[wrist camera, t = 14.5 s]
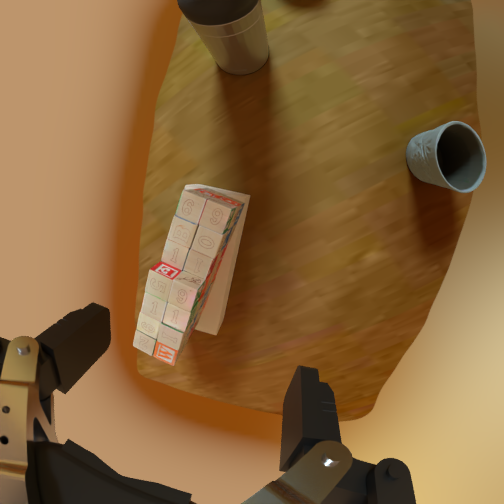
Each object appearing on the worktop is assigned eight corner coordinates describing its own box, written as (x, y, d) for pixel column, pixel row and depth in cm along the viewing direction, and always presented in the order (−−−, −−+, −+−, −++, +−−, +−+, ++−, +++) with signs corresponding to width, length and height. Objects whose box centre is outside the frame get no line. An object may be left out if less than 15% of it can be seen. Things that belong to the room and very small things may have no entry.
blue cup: (445, 134, 37) (483, 126, 25) (448, 189, 39) (488, 194, 28) (398, 129, 38) (431, 116, 26) (403, 187, 40) (437, 191, 29)
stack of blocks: (205, 186, 38) (172, 189, 27) (246, 202, 38) (228, 212, 27) (165, 308, 44) (131, 347, 33) (198, 323, 44) (172, 368, 33)
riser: (198, 184, 44) (185, 184, 39) (250, 195, 44) (245, 197, 38) (178, 305, 51) (166, 320, 45) (223, 318, 50) (216, 335, 45)
